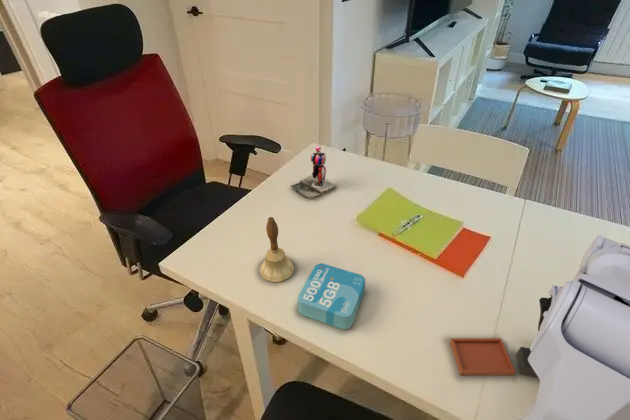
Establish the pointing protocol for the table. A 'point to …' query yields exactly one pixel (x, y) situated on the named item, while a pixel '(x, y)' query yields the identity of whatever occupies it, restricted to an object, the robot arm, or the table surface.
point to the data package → (332, 295)
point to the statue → (315, 177)
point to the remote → (524, 362)
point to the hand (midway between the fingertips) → (549, 350)
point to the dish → (481, 356)
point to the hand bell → (275, 258)
